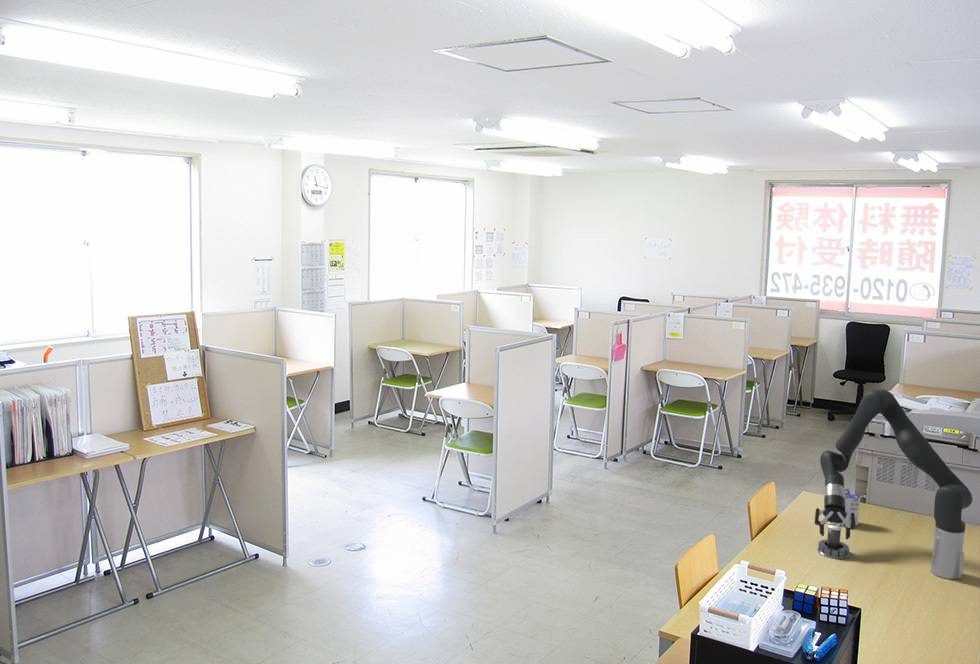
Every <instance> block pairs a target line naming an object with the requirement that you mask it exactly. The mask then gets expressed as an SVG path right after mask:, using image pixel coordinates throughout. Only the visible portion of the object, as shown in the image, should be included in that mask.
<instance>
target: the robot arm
mask: <svg viewBox="0 0 980 664" xmlns="http://www.w3.org/2000/svg"><path fill="white" fill-rule="evenodd" d="M880 414H881V416H883V418H884V419H885V420H886V421H887V422H888V424H889V425H890V427H891V428H892V431H893V434H894V438H895V440H896V443H897V445H898V448H900V451H901V452H902V453H903V454H904V456H905V457H906V458H907V459H908V461H910V462H911V464H913V465H914V466H915V467H917V468H918V469H919V470H921V471H922V472H924V473H926V474H927V475H928V476H929V477H930V478H931V479H932V480H933V481H934V482H935V483H936V484H937V486H938V487H939V488H938V489H937V490H936V492H935V495H934V502H933V503H934V504H933V505H934V506H933V509H934V510H933V517H934V522H935V524H934V525H935V526H934V538H933V544H932V545H933V546H932V555H931V563H930V572H931V573H932V574H933V575H935V576H937V577H941V578H944V579H948V580H949V579H951V580H957V579H960V580H961V579H963V569H964V568H963V567H964V560H965V553H964V543H965V541H964V540H965V534H966V533H965V532H966V523H965V522H964V521H963V520H962V512H963V510H964V509H967V508H968V507H970V506H971V505H972V503H973V495H972V492H971V491H970V489H969V488H968V487H967V486H966V484H965V483H964V482H962V480H961V479H960V478H959V477H958V476H957V475H956V474H955V473H954V472H953V471H952V470H951V469H950V467H948V466H947V464H946V463H945V462H944V460H943V459H942V457H941V456H940V455H939V453H937V452H936V450H934V448H933V446H932V445H931V444H930V442H929V441H928V440H927V439H926V437H925V435H923V433H921V431H920V430H919V429H918V428H917V426H916V425H915V423H913V422H912V420H911V419H910V418H909V417H908V415H907V414H906V412H905V411H904V410H903V408H902V406H901V405H900V404H899V402H898V400H897V398H896V397H895V396H894V394H893V393H892V392H891V391H889V390H887V389H884V388H883V389H882V388H881V389H880V388H879V389H873V390H869V391H867V392H866V393H865V394H864V395H863V396H862V398H861V401H860V403H859V405H858V407H857V409H856V411H855V414H854V415H853V417H852V419H851V421H850V422H849V424H848V425H847V427H846V428H845V430H844V431H843V433H842V434H841V435H840V437H839V438H838V439H837V441H836V443H835V448H836V449H837V450H838V451H839V452H840V453H841V454H840V453H838V452H835V451H832V450H825V451H822V453H821V455H820V457H819V458H820V459H819V463H820V467H821V471H822V474H823V478H824V490H823V492H824V493H823V499H824V500H823V509H820V508H819V507H817V508H816V509H815V513H814V514H815V515H814V525H816V526H819V534H820V535H821V537H824V535H825V525H826V524H827V523H828V522H829V524H833V523H838V524H839V523H841V524H842V525H841V527H844V528H845V540H848V539H850V538H851V530H852V531H855V529H856V525H855V515H854V513H851V514H848V513H846V511H845V493H846V491H844V489H845V477H844V475H843V474H842V473H843V472H845V471H846V470H847V469H848V467H849V465H850V461H851V458H852V456H853V453H854V452H855V450H856V449H857V447H858V446H859V444H860V443H861V442H862V440H863V439H864V436H865V433H866V430H867V428H868V425H869V424H870V423H871V422H872V420H873V419H874V418H875V417H876V416H877V415H880ZM822 515H823V516H824V518H823V519H822V520H821V521H820V516H822ZM846 517H848V518H849V519H850V520H851V525H849V524H848V523H847V521H846V519H845V518H846Z"/></svg>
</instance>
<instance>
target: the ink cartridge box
mask: <svg viewBox="0 0 980 664" xmlns="http://www.w3.org/2000/svg"><path fill="white" fill-rule="evenodd" d="M844 491H845V511H846V513H848V514H851V513H854V515H855V526H858V525H859V515H860V514H859V513H860V500H861V499H860V497H859V496H858V495H857V494H855V493H850V488H844ZM845 519H846V521H847V523H848V524H849V525H851V520H850V519H849V518H848V517H846V518H845ZM834 524H838V523H834ZM839 525H840V526H842V524H841V523H839Z"/></svg>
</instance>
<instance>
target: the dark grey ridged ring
mask: <svg viewBox="0 0 980 664" xmlns="http://www.w3.org/2000/svg"><path fill="white" fill-rule="evenodd" d="M817 546H818V547H817V550H818V551H817V553H818V554H819V555H821V554H822V555H821V556H823V555H824V557H827V558H829V557H830V559H834V558H835V560H845V559H847V558H849V557H850V547H849V545H848V544H847V543H845V542H842V541H840V547H839V549H835V548H830V547H827V539H822V540H818V545H817Z"/></svg>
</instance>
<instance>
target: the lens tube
mask: <svg viewBox="0 0 980 664" xmlns="http://www.w3.org/2000/svg"><path fill="white" fill-rule="evenodd" d="M827 529H828V530H827V539H826V540H827V547H830V548H835V549H839V547H840V542H841V533H842V525H837V524H833V523H828V525H827Z"/></svg>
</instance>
